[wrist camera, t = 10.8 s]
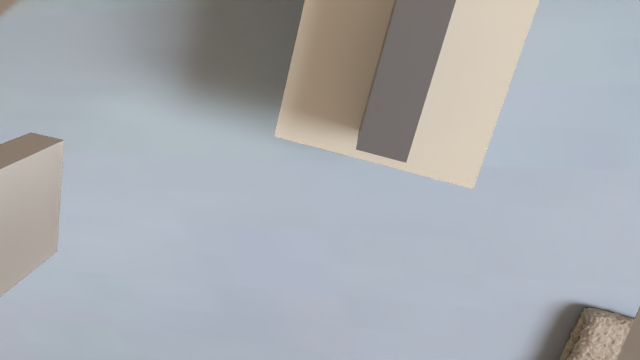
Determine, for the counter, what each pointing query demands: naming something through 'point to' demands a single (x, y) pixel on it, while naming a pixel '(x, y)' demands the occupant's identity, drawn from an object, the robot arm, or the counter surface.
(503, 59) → the cover
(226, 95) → the counter surface
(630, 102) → the counter surface
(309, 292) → the counter surface
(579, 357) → the washcloth
